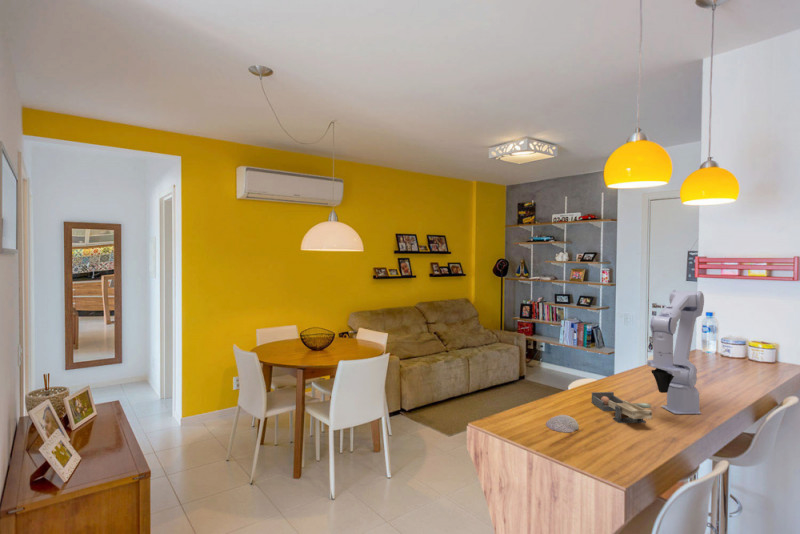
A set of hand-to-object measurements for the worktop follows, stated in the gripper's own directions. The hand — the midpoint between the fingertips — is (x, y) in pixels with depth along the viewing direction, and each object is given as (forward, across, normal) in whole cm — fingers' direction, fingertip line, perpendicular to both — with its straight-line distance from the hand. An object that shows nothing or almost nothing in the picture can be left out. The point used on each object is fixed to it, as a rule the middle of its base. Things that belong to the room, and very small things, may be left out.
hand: (663, 392), depth 145 cm
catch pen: (+10, -15, -11) cm, 21 cm away
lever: (+7, -1, -7) cm, 10 cm away
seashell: (+10, +3, -35) cm, 37 cm away
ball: (+8, -18, -11) cm, 22 cm away
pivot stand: (+10, -1, -11) cm, 15 cm away
